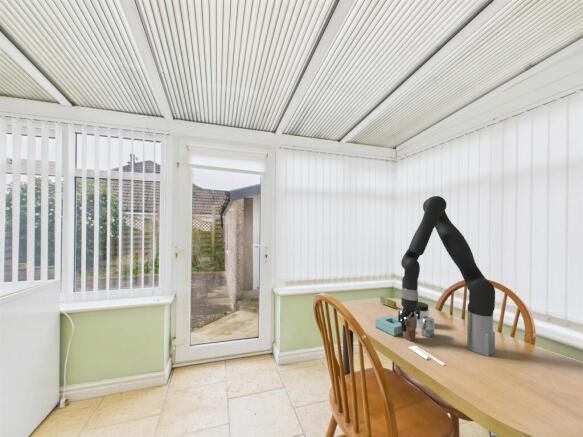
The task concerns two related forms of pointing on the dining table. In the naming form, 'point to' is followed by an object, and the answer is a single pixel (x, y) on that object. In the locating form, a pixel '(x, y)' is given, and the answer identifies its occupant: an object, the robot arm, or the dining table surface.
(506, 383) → the dining table surface
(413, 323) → the square peg
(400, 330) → the socket block
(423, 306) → the jar
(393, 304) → the medication box
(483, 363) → the dining table surface
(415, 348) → the white long flat piece
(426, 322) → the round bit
